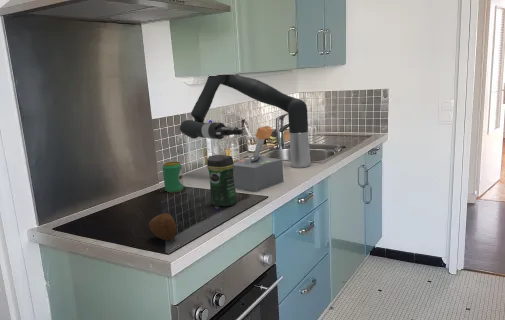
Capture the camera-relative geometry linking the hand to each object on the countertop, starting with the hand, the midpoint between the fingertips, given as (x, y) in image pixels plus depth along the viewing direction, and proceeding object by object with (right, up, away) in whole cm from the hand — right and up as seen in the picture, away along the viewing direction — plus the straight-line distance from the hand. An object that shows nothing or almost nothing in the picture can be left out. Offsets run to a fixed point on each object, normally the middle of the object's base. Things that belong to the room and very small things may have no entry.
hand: (241, 132), depth 183 cm
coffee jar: (-6, -29, -25) cm, 38 cm away
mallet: (+6, -12, -2) cm, 13 cm away
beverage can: (-29, -25, 0) cm, 38 cm away
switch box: (+7, -23, 0) cm, 24 cm away
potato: (-21, -36, -56) cm, 69 cm away
